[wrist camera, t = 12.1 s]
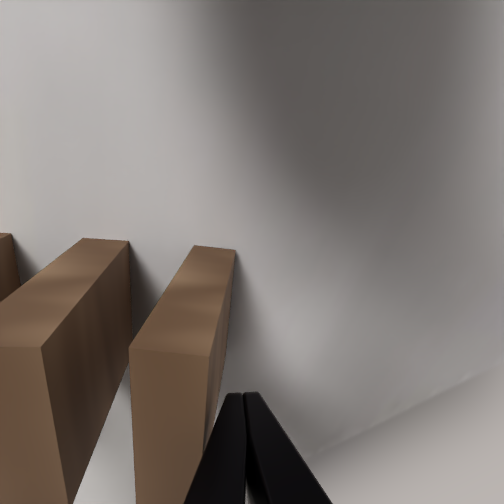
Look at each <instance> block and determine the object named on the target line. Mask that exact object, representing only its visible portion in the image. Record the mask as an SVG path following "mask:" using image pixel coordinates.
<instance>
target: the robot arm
mask: <svg viewBox="0 0 504 504" xmlns="http://www.w3.org/2000/svg"><path fill="white" fill-rule="evenodd" d="M246 491H247V498H248V504H332V502H331V501H330V499H329V498H328V496H327V495H326V493H325V492H324V490H323V488H322V487H321V485H320V484H319V483H318V481H317V479H316V478H315V477H314V475H313V473H312V472H311V470H310V469H309V467H308V466H307V464H306V463H305V461H304V460H303V458H302V457H301V455H300V454H299V452H298V451H297V449H296V448H295V446H294V445H293V443H292V442H291V440H290V439H289V437H288V436H287V434H286V433H285V431H284V430H283V428H282V427H281V425H280V424H279V422H278V421H277V419H276V418H275V416H274V415H273V413H272V412H271V410H270V408H269V407H268V405H267V404H266V402H265V401H264V399H263V398H262V396H261V395H260V394H259V393H258V392H245V393H243V394H242V393H228V394H227V395H226V397H225V400H224V402H223V405H222V407H221V410H220V412H219V415H218V417H217V420H216V422H215V425H214V427H213V430H212V432H211V435H210V437H209V440H208V442H207V445H206V447H205V450H204V452H203V455H202V457H201V460H200V463H199V465H198V468H197V470H196V473H195V475H194V478H193V480H192V483H191V485H190V488H189V490H188V493H187V495H186V498H185V500H184V503H183V504H245V493H246Z"/></svg>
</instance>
